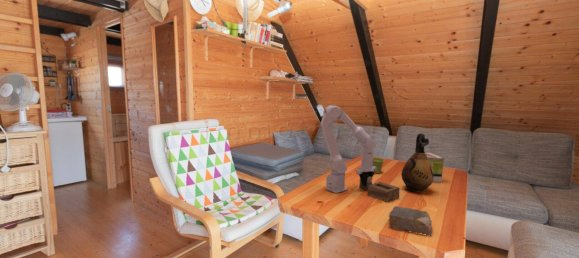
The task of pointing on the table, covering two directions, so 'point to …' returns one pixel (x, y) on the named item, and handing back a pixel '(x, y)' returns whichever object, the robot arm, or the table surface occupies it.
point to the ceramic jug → (418, 168)
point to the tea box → (436, 166)
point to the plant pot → (377, 164)
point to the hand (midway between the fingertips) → (365, 185)
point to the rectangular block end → (369, 182)
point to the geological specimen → (410, 220)
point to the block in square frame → (383, 191)
